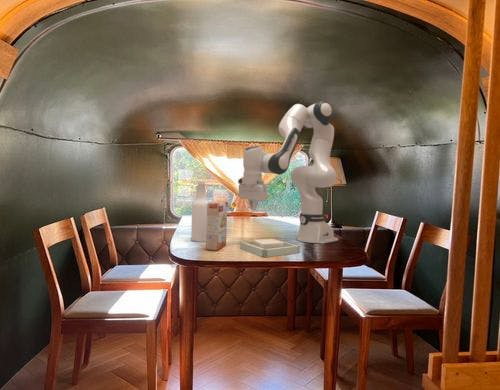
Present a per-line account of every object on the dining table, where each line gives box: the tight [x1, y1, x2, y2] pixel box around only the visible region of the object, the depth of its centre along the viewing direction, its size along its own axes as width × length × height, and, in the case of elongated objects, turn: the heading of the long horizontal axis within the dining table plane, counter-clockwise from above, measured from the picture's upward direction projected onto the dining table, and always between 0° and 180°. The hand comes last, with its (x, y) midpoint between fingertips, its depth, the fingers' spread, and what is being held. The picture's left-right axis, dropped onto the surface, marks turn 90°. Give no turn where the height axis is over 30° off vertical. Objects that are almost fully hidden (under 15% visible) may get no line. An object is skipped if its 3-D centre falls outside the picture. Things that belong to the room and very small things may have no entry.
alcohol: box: [190, 180, 210, 243], centre depth 170 cm, size 9×9×30 cm
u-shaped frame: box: [239, 238, 301, 259], centre depth 152 cm, size 19×19×3 cm
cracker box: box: [205, 200, 229, 252], centre depth 155 cm, size 14×6×21 cm, turn 168°
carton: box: [252, 238, 284, 249], centre depth 150 cm, size 10×10×5 cm
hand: (252, 209), depth 165 cm, fingers closed
